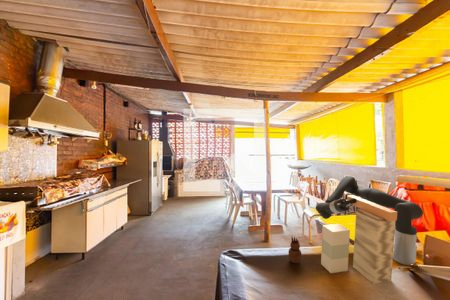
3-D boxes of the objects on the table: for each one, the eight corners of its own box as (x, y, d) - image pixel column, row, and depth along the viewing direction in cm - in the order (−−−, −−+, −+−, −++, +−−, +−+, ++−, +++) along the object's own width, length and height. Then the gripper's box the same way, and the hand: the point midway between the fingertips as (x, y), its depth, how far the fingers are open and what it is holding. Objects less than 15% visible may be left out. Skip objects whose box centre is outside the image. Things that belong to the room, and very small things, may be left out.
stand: (368, 264, 121) (372, 207, 118) (391, 280, 108) (395, 217, 105) (352, 267, 118) (356, 209, 115) (373, 283, 106) (378, 218, 103)
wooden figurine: (287, 262, 123) (288, 236, 121) (289, 257, 128) (290, 232, 126) (300, 266, 119) (300, 239, 118) (301, 260, 124) (302, 235, 123)
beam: (353, 202, 127) (353, 195, 126) (396, 220, 101) (397, 211, 101) (346, 202, 126) (347, 195, 125) (389, 221, 100) (390, 212, 100)
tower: (336, 261, 123) (338, 223, 121) (347, 270, 116) (349, 230, 113) (321, 263, 121) (322, 225, 119) (330, 273, 113) (332, 232, 111)
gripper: (351, 211, 135) (373, 205, 120) (330, 213, 132) (350, 207, 117) (347, 199, 138) (367, 192, 123) (327, 200, 135) (345, 193, 120)
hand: (359, 199), depth 120 cm, fingers closed on beam, 4 cm apart
